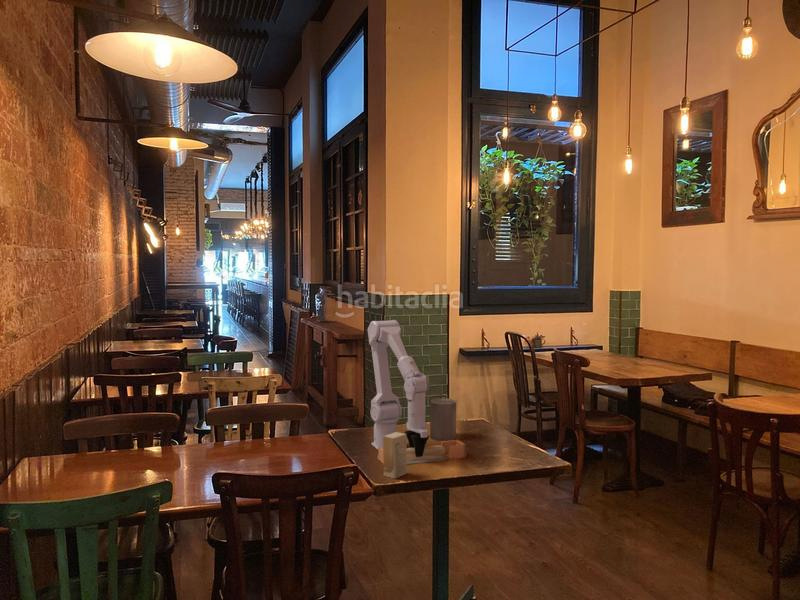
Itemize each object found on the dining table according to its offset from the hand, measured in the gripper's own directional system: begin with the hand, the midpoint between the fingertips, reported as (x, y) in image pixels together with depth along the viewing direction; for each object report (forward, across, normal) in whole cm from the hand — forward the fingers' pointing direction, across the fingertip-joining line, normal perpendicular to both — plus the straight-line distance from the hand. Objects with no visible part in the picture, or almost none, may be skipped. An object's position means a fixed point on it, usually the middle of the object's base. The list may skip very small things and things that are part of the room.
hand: (416, 454), depth 202 cm
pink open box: (+1, 0, -12) cm, 13 cm away
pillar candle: (+2, +23, -19) cm, 30 cm away
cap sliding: (+1, 0, +9) cm, 9 cm away
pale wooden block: (+2, 0, -2) cm, 3 cm away
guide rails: (+1, 0, +2) cm, 2 cm away
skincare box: (+2, -14, +12) cm, 19 cm away
